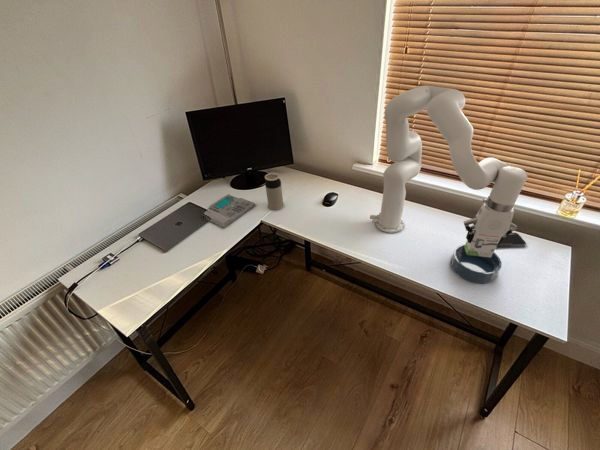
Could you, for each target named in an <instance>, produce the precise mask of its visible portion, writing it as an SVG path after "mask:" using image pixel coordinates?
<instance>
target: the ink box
mask: <svg viewBox="0 0 600 450" xmlns="http://www.w3.org/2000/svg"><path fill="white" fill-rule="evenodd" d="M474 229H475V227H474ZM472 230H473V229H472ZM502 235H503V234H489V233H479V232H475V233H474V237H473V239H472V242H471V243H468V240H467V239H466V242H465V243H464V244H465V246H464V248H465V251H466V254H467V255H472V256H481V257H491V256H492V254H493V252H494V253H495V251H496V249H497V248H498V247H497V245H498V243H499V241H500V239H501V237H502ZM496 247H497V248H496Z"/></svg>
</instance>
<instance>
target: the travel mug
mask: <svg viewBox="0 0 600 450" xmlns="http://www.w3.org/2000/svg"><path fill="white" fill-rule="evenodd" d="M280 177H281V176H280V174H279V173H277V172H269V173H267V174H265V175H264V179H265V182H264V186H265V193H266V198H267V206H268V208H269V209H270V210H273V211H278V210H280V209H282V208H283V207H284V198H283V188H282V181H281V178H280Z"/></svg>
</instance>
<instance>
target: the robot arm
mask: <svg viewBox="0 0 600 450" xmlns="http://www.w3.org/2000/svg"><path fill="white" fill-rule="evenodd" d="M465 106H466V97H465V94H463V93H462V91H460V90H459V89H455V88H450V87H443V86H435V85H425V84H424V85H420V86H416V87H414V88H412V89H408V90H406V91H403V92H401V93H399V94H397V95H396V96H393V97H392V98H391V99H390V100H389V101H388V102H387V104H386V106H385V109H384V121H385V143H386V144H385V145H386V147H385V149H386V156H387V158H388V159H389V161H391V162H393V163H392V164H390V165H389V166H387V167H386V169H384V172H383V176H382V179H383V180H382V181H383V191H382V200H381V208H380V212H378V213H379V214H370V215H369V219H370V220H372V222H374V223H375V226H376V227H377V229H378V230H380V231H382V232H385V233H391V234H393V233H394V234H395V233H398V232H400V231H402V230H403V228H404V225H405V223H404V221H403V220H402V217H403V211H404V208H405V207H404V206H405V201H406V195H407V190H406V184H407V183H408V182H409V181H410V180H412V179H413V178H415V177H417V176H418V175H419V173H420V172H421V169H422V155H423V154H422V153H423V142H422V138H421V136H420V135H419V133H417V132H416V131H414V130H410V123H409V119H408V117H411V116H413V115H415V114H418V113H420V112H423V111H426V113H427V115H428V117H429V119H430V121H431V122H432V123H433V124H434V126H435V127H436V129H437V130H438V132H439V133H440V134H441V136H442V137H443V139H444V141H445V142H446V143H447V145H448V151H449V152H448V153H449V158H450V162H451V165H452V167H453V170H454V171H455V173H456V174H457V176H458V177H459V179H460V181H462V182H463V184H464V185H465V186H466V187H468V188H469V189H472V190H474V191H475V190H476V191H479V190H480V191H481V190H484V189H485V188H487V187H488V186H489V185H490V184H492V183H493V186H492V188H491V191H490V193H489V195H488V196H487V198H483V199H482V203H483V204H482V206H481V207H480V208H479V209H478V211H477V214H476V215H475V217H474V218H471V219H470V218H469V219H466V220H464V221H463V225H464V228H465V230H466V231H467V234H466V236H465V238H466V241H467V240H468V243H471V242H472V239H473V237H474V233H475V232H479V233H489V234H503V235H502V237H501V239H500V241H499V243H498V245H497V246H499V244H500V242H501V241H502V239H503V238H504V237H506V235H508V234H511V233H514V232H515V231H516V230H518V226H517V225H516V224H515V223H513V222H512V221H513V217H514V213H515V209H514V205H515V204H516V202H517V200H518V198H519V195H520V193H521V192H522V190H523V187H524V185H525V183H526V182H527V180H528V173H527V172H526V171H525V170H524V169H522V168H520V167H517V166H512V165H510V164H507V163H506V162H503V161H501V160H500V159H498V158H495V157H485V158H483V159H481V160H480V161H479V162H478V161H477V159H476V158H475V156H474V153H473V149H472V140H473V136H474V131H475V130H474V126H473V125H472V124H471V122H470V121H469V120H468V118H467V117H466V116H465V114H464V113H463V111H462V110H463V109H464V108H465ZM470 225H471V226H470ZM474 227H475V229H474ZM472 229H473V230H472Z"/></svg>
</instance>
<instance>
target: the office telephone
mask: <svg viewBox="0 0 600 450" xmlns="http://www.w3.org/2000/svg"><path fill="white" fill-rule="evenodd" d="M255 206H256V203H255V202H253V201H250V200H248V199H246V198H242V197H236V196H234V195H231V194H230V193H228V194H226V195H224V196H222V197H221V198H220V199H218V200H216V201H215V202H213V203H212V204H210V205H209V206H208V208H209V209H207V210H205V211H204V212H203V213H204V214H205V215H207V216H209V217H210V218H211V220H209V219H207V218H206V219H205V220H207V221H208V222H210V223H212V224H214V225H216V226H218V227H220V228H222V229H225V228H227V227H228V226H230V225H231V224H232V223H233V222H235V221H236V220H238V219H239V218H240V217H241V216H243V215H244V214H246V213H247V212H248V211H249V210H251V209H252V208H254V207H255Z"/></svg>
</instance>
